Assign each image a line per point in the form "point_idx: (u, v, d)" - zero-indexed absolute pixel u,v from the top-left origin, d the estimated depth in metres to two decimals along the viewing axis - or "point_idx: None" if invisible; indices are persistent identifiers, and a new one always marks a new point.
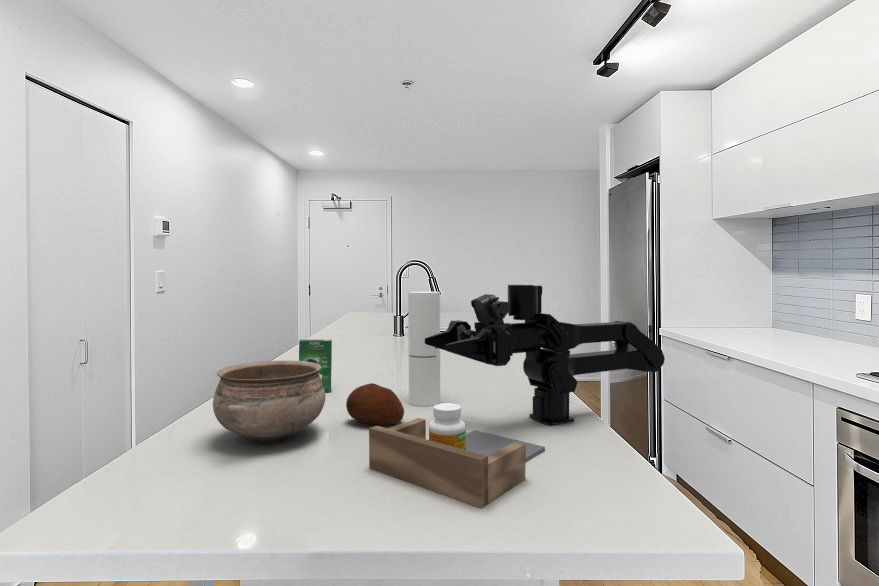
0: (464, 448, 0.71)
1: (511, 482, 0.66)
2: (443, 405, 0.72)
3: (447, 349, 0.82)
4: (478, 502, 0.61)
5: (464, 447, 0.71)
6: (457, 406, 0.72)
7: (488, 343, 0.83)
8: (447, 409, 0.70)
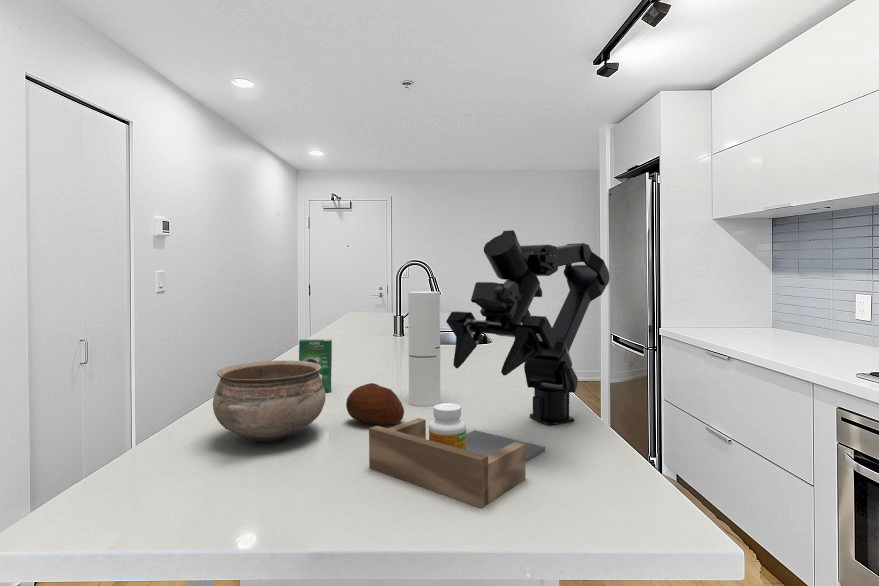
0: (464, 448, 0.71)
1: (511, 482, 0.66)
2: (443, 405, 0.72)
3: (505, 374, 0.75)
4: (478, 502, 0.61)
5: (464, 447, 0.71)
6: (457, 406, 0.72)
7: (533, 340, 0.76)
8: (447, 409, 0.70)
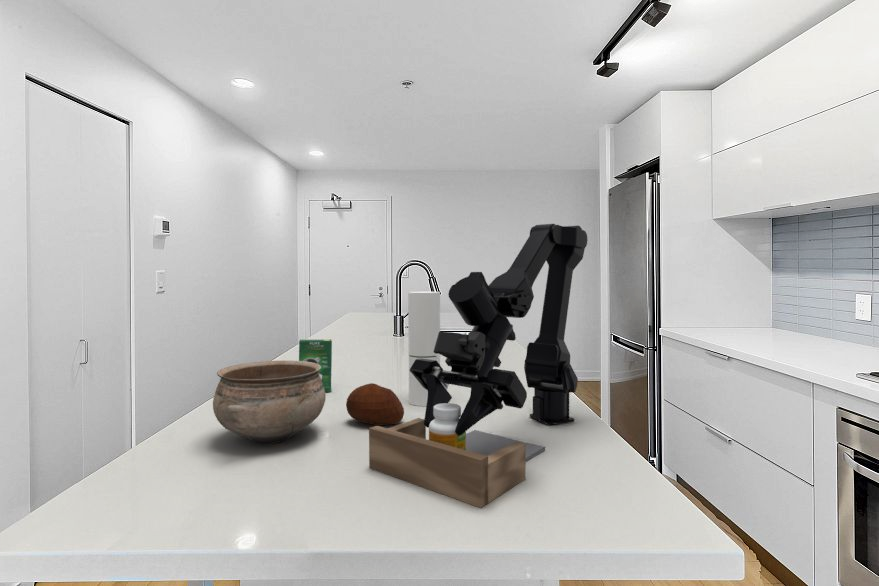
0: (464, 448, 0.71)
1: (511, 482, 0.66)
2: (443, 405, 0.72)
3: (459, 434, 0.69)
4: (478, 502, 0.61)
5: (464, 447, 0.71)
6: (457, 406, 0.72)
7: (491, 395, 0.70)
8: (447, 409, 0.70)
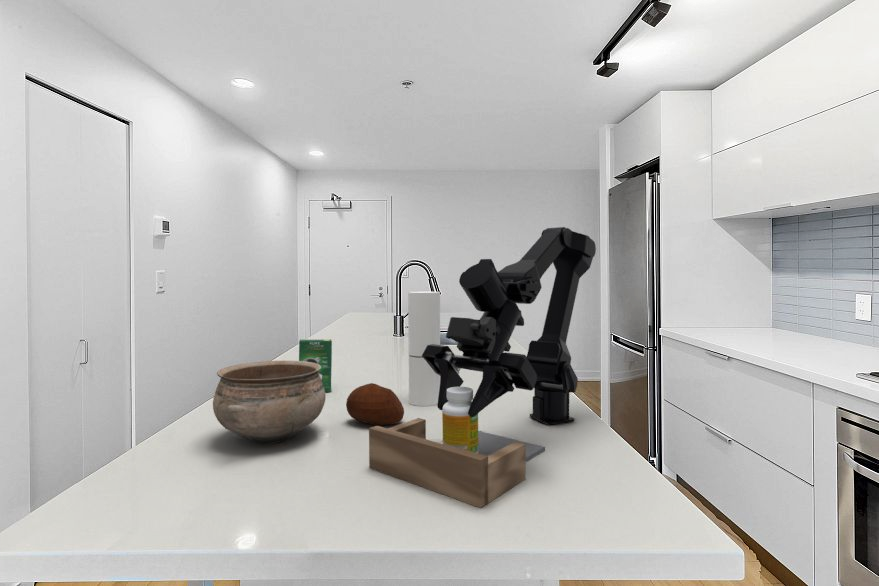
0: (477, 429, 0.73)
1: (511, 482, 0.66)
2: (456, 388, 0.74)
3: (472, 415, 0.71)
4: (478, 502, 0.61)
5: (477, 428, 0.73)
6: (469, 389, 0.74)
7: (502, 378, 0.72)
8: (460, 392, 0.72)
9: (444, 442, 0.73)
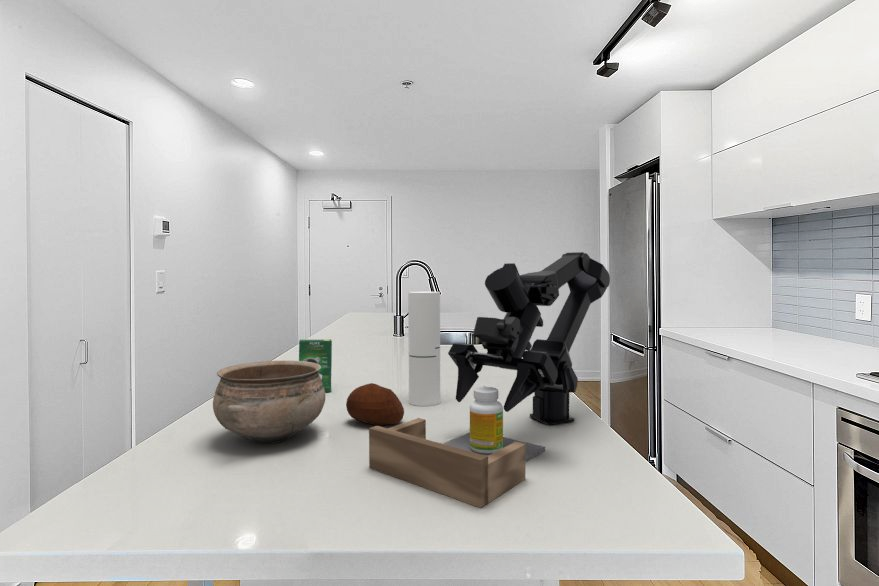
0: (502, 426, 0.79)
1: (511, 482, 0.66)
2: (482, 388, 0.80)
3: (507, 410, 0.75)
4: (478, 502, 0.61)
5: (502, 425, 0.79)
6: (495, 389, 0.79)
7: (535, 375, 0.76)
8: (487, 391, 0.78)
9: (471, 438, 0.79)
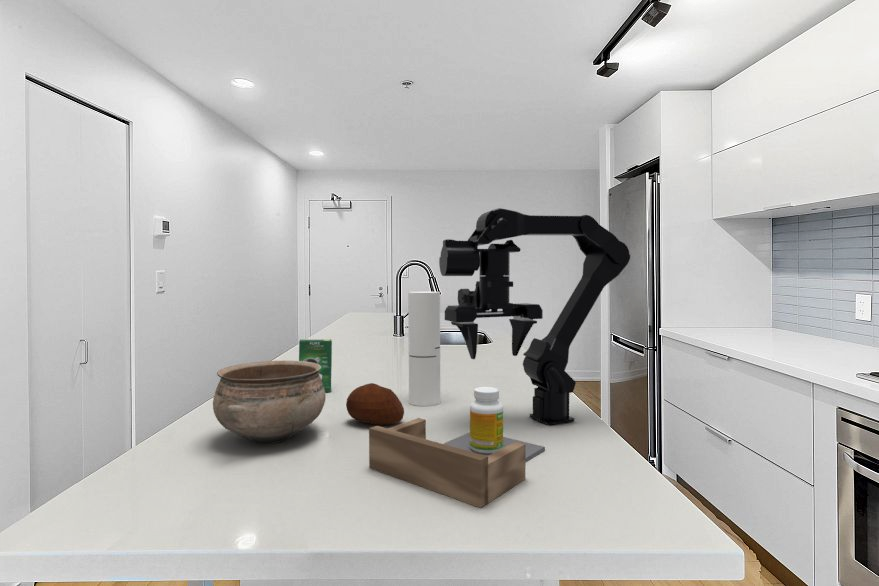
0: (502, 426, 0.79)
1: (511, 482, 0.66)
2: (482, 388, 0.80)
3: (472, 358, 0.92)
4: (478, 502, 0.61)
5: (502, 426, 0.79)
6: (495, 389, 0.79)
7: None
8: (487, 391, 0.78)
9: (472, 438, 0.79)
